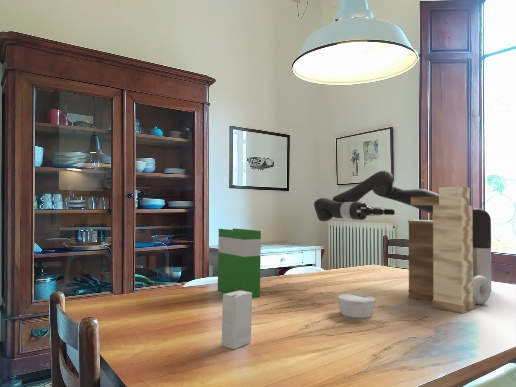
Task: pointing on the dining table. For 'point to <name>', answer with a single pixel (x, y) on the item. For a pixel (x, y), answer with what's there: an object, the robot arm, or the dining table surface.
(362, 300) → the ramekin
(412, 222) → the cream-topped wooden box
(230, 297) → the skincare box
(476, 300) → the donut
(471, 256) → the wooden block
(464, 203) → the brown tan long block
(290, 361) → the dining table surface
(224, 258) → the green cereal box
